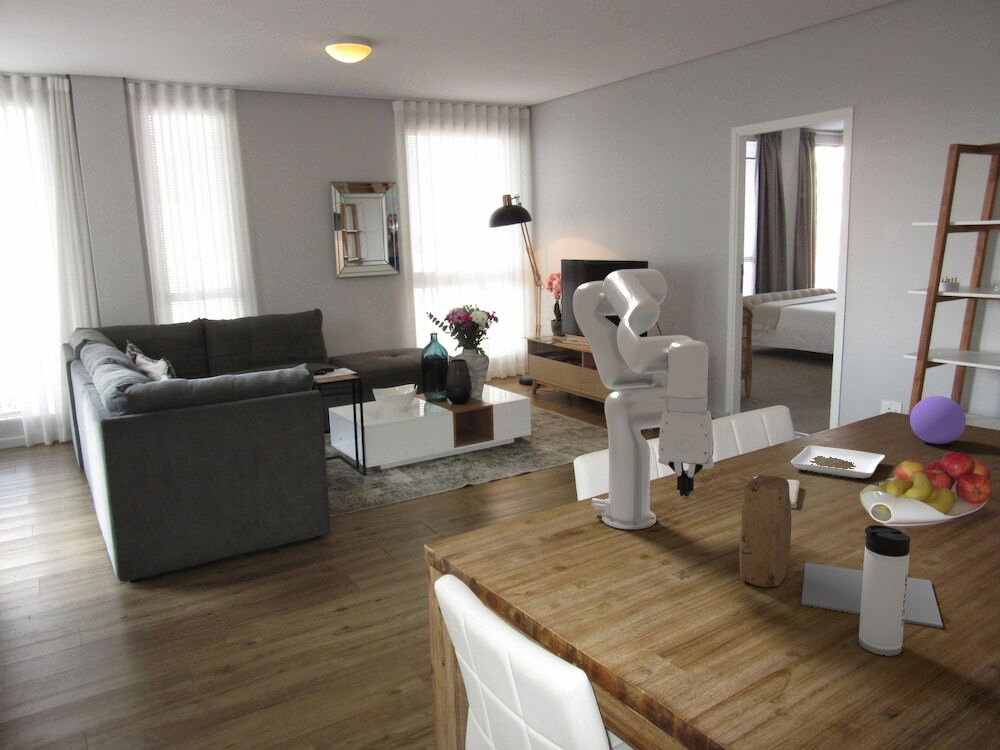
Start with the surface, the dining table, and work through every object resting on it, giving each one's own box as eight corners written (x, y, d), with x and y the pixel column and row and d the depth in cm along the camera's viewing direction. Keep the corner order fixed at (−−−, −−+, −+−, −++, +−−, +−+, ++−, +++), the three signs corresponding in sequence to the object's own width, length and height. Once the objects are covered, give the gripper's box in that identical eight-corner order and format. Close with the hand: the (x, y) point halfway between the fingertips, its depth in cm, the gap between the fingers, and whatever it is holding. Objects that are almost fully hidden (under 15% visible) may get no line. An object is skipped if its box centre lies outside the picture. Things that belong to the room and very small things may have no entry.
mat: (801, 604, 133) (801, 602, 133) (805, 564, 150) (805, 562, 150) (942, 628, 125) (942, 625, 125) (930, 582, 141) (930, 580, 141)
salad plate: (807, 454, 226) (808, 443, 225) (885, 465, 213) (886, 453, 213) (788, 473, 209) (789, 461, 208) (872, 485, 196) (872, 473, 196)
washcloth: (800, 488, 196) (800, 477, 195) (797, 511, 180) (798, 499, 179) (752, 483, 201) (753, 472, 200) (746, 505, 184) (746, 494, 184)
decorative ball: (959, 439, 236) (964, 393, 234) (967, 452, 223) (971, 403, 220) (906, 435, 243) (909, 390, 240) (910, 447, 229) (914, 399, 226)
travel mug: (848, 637, 122) (856, 522, 119) (886, 634, 123) (895, 520, 119) (870, 658, 116) (879, 537, 113) (910, 655, 117) (920, 535, 113)
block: (773, 593, 138) (778, 490, 134) (734, 582, 143) (738, 483, 139) (793, 573, 146) (798, 475, 143) (756, 563, 151) (760, 468, 147)
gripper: (644, 405, 144) (643, 495, 148) (724, 410, 138) (721, 504, 141) (653, 397, 151) (652, 484, 154) (729, 402, 145) (726, 492, 148)
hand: (685, 493), depth 148 cm, fingers closed
